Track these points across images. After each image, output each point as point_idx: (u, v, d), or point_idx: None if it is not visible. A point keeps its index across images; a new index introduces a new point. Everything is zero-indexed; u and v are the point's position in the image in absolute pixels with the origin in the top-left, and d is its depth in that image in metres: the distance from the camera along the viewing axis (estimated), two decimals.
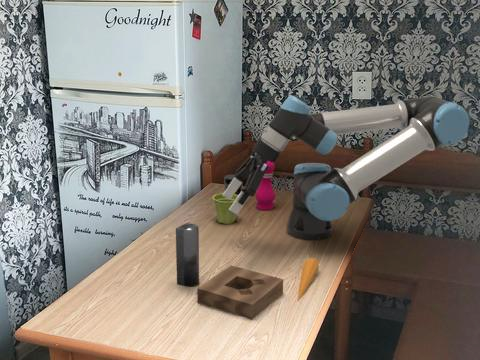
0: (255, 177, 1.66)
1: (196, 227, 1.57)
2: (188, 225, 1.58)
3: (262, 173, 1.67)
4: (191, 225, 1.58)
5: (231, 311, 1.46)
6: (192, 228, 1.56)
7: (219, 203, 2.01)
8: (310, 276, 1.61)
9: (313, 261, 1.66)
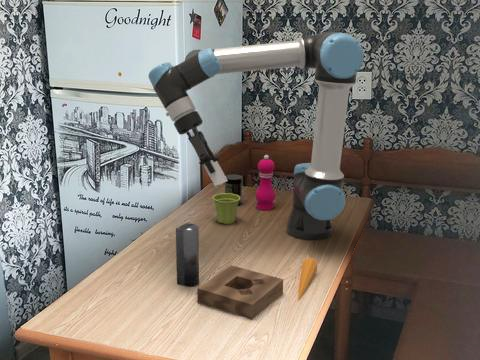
0: (194, 145, 1.58)
1: (196, 227, 1.57)
2: (188, 225, 1.58)
3: (196, 137, 1.58)
4: (191, 225, 1.58)
5: (231, 311, 1.46)
6: (192, 228, 1.56)
7: (219, 203, 2.01)
8: (309, 276, 1.61)
9: (312, 261, 1.66)
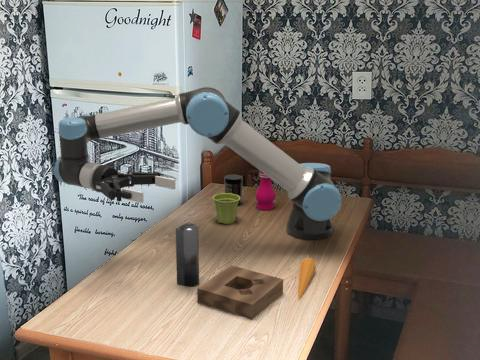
0: (104, 193, 1.58)
1: (196, 227, 1.57)
2: (188, 225, 1.58)
3: (101, 186, 1.60)
4: (191, 225, 1.58)
5: (231, 311, 1.46)
6: (192, 228, 1.56)
7: (219, 203, 2.01)
8: (308, 276, 1.61)
9: (310, 261, 1.66)
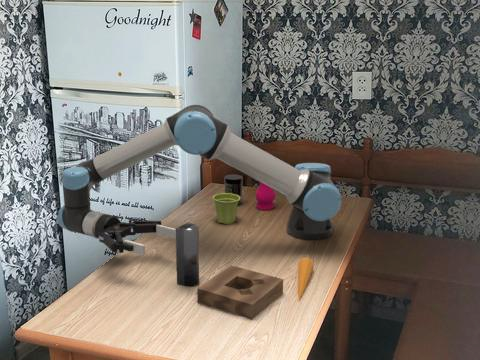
0: (106, 244, 1.63)
1: (196, 227, 1.57)
2: (188, 225, 1.58)
3: (103, 237, 1.64)
4: (191, 225, 1.58)
5: (231, 311, 1.46)
6: (192, 228, 1.56)
7: (219, 203, 2.01)
8: (307, 276, 1.61)
9: (308, 260, 1.67)
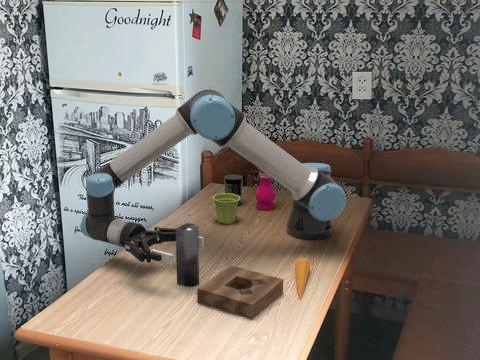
0: (133, 254, 1.58)
1: (196, 227, 1.57)
2: (188, 225, 1.58)
3: (130, 246, 1.59)
4: (191, 225, 1.58)
5: (231, 311, 1.46)
6: (192, 228, 1.56)
7: (219, 203, 2.01)
8: (305, 276, 1.61)
9: (305, 261, 1.67)
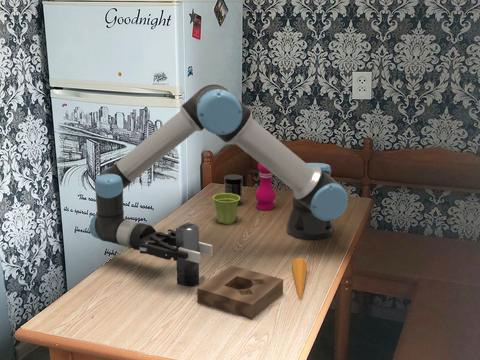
0: (154, 254, 1.57)
1: (196, 227, 1.57)
2: (188, 225, 1.58)
3: (148, 248, 1.58)
4: (191, 225, 1.58)
5: (231, 311, 1.46)
6: (192, 228, 1.56)
7: (219, 203, 2.01)
8: (304, 276, 1.61)
9: (302, 260, 1.67)
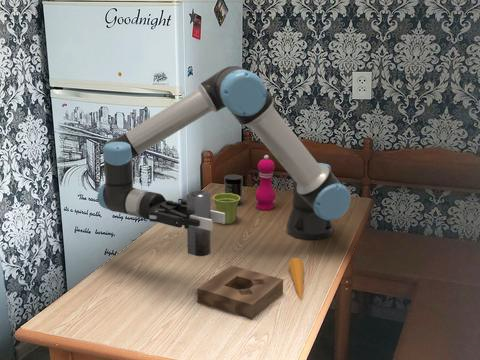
0: (164, 222, 1.52)
1: (208, 194, 1.51)
2: (199, 192, 1.52)
3: (158, 215, 1.52)
4: (202, 192, 1.52)
5: (231, 311, 1.46)
6: (204, 195, 1.50)
7: (219, 203, 2.01)
8: (302, 276, 1.61)
9: (299, 261, 1.67)
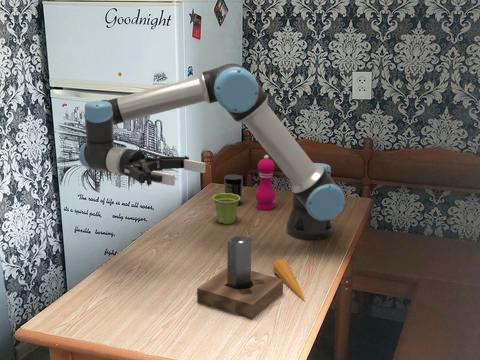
0: (133, 177, 1.54)
1: (249, 240, 1.49)
2: (240, 237, 1.50)
3: (130, 170, 1.55)
4: (243, 237, 1.50)
5: (231, 311, 1.46)
6: (245, 241, 1.48)
7: (219, 203, 2.01)
8: None
9: (284, 262, 1.66)
